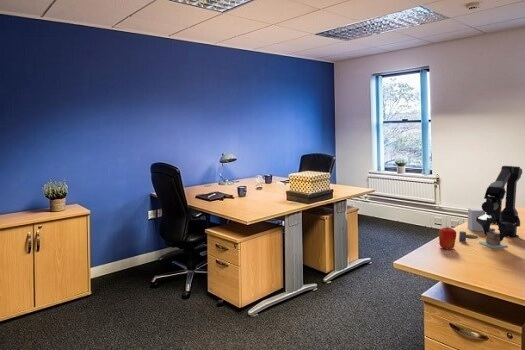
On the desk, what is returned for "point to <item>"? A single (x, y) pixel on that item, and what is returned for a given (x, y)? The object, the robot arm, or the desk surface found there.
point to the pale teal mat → (494, 245)
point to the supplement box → (474, 219)
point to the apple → (447, 238)
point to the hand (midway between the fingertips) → (493, 238)
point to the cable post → (462, 236)
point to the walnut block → (493, 238)
